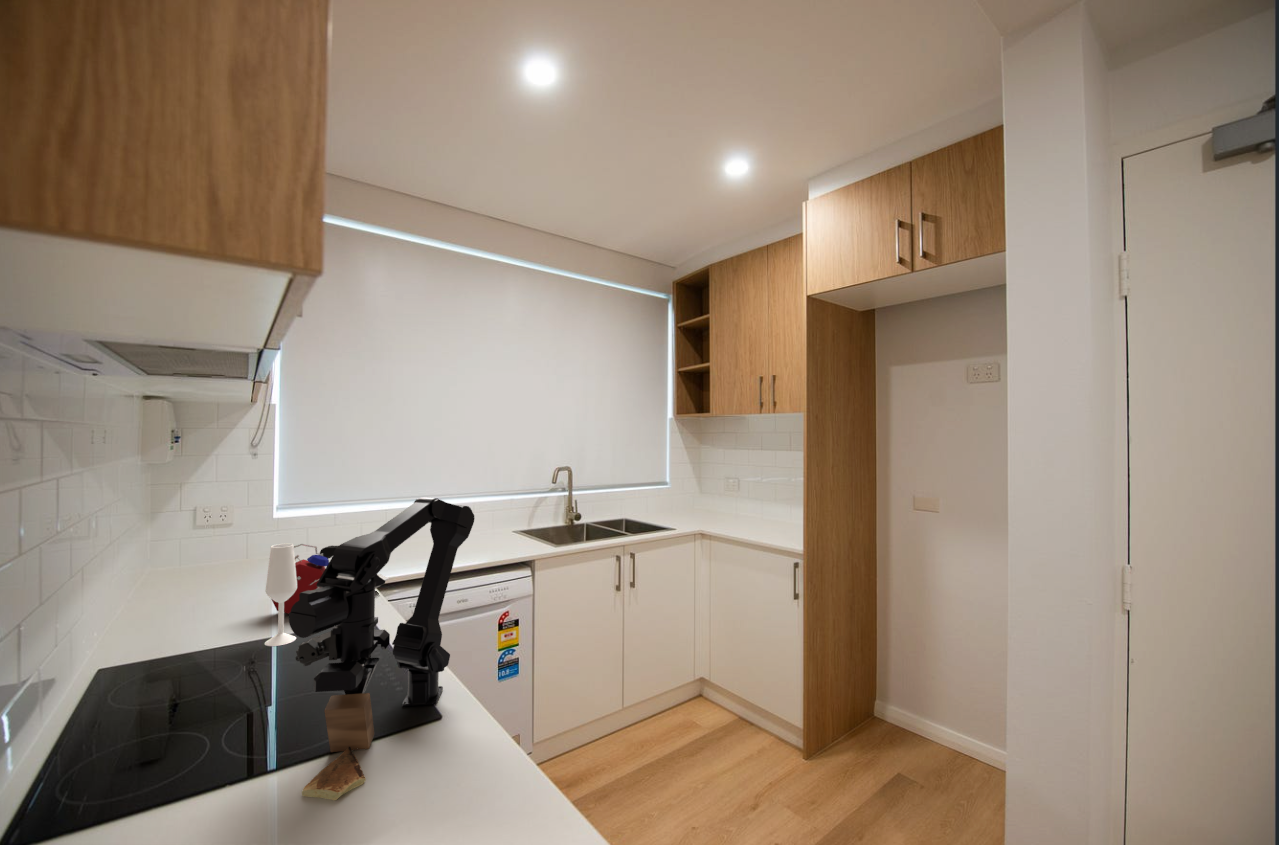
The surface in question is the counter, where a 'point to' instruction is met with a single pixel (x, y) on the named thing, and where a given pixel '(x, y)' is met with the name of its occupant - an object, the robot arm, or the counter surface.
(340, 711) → the walnut slab
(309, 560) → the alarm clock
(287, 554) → the champagne flute
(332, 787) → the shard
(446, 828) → the counter surface
